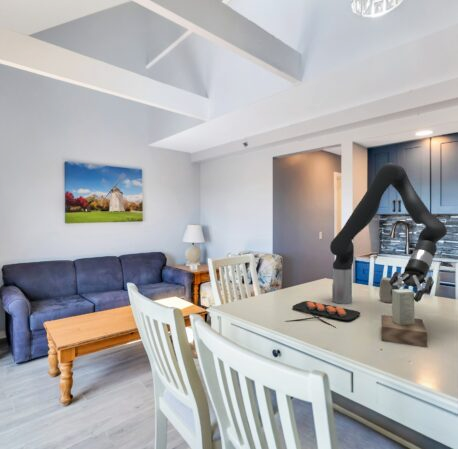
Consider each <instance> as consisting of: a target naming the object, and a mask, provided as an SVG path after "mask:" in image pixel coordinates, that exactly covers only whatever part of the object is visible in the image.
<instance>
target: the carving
mask: <svg viewBox="0 0 458 449" xmlns="http://www.w3.org/2000/svg"><path fill="white" fill-rule="evenodd" d="M391 278H392V277H382V278H381V279H380V283H379V294H378V295H379V299H380V300H381V301H382V302H384V303H389V304H392V295H391V293H390V291H391V289H392V286H391V285H390V283H389V281H390V280H391Z"/></svg>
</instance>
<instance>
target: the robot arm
mask: <svg viewBox="0 0 458 449" xmlns="http://www.w3.org/2000/svg"><path fill="white" fill-rule="evenodd" d="M390 186H392V187H393V188H394V189H395V190H396V191H397V193H398V194H399V196H400V197H401V200H402V204H403V205H404V208H405V210H406V212H407V214H408V215H409V216H410V218H411V220H412V221H413V222H414V223H415V224H417V225H418V224H422V225H424V226H425V227H424V228H423V229H422V230H421V231H420V233H419V235H418V238H417V243H416V246H415V248H414V250H413V252H412V253H411V255H410V256H409V260H408V262H407V263H406V265H405V266H404V271H403V272H402V273H399V272H398V271H395V272H393V274H392V276H391V277H390V278H391V280H390V281H389V283H390V285H391V286H392V289H391V291H390V293H391V295H392V290H396V289H400V288H404V287H405V286H406V287H412V288H416V287H417V289H418V290H416V293H415V294H414V302H415V303H418V302H420V301H421V300H422V298H423V295H425V294H427V295H430V294H431V292H432V289H433V286H434V279H433V277H432V276H428V273H429V271H430V269H431V267H432V264H433V259H434V257H435V254H436V252H437V249H438V248H437V243H438V242H439V241H440V240H441V239H443V238H444V237H446V235H447V234H448V233H447V232H448V230H447V227H446V225H445V223H444V222H442V221H441V220H440V219H439V218H438V217H437V216H435V215H434V214H432V212H430V209H429V208H428V207H427V206H426V204H425V203H424V202H423V200H422V198H421V197H420V196H419V194H418V192H416V190H415V188H414V187H413V185H412V183H411V181H410V179H409V175H408V174H407V172H406V170H405V168H404V167H403V166H402V165H399V164H396V163H394V162H387V163H384V164H383V165H381V167H380V168H379V169H378V171H377V172H376V174H375V176H374V179H373V180H372V182H371V184H370V185H369V187H368V189H367V191H365V194H364V195H363V197H362V198H361V199H360V200H359V203H358V204H357V205H356V206H355V208H354V210H353V211H352V213H351V215H350V216H349V217H348V219H347V220H346V222H345V224H344V226H343V227H342V229H340V231H339V232H338V233H337V235H336V236H335V237H334V238H333V239H332V241H331V242H330V246H329V249H330V252H331V253H332V255H334V256H336V257H335V259H334V261H333V262H332V286H331V287H332V299H331V300H332V302H333V303H337V304H345V305H346V304H352V303H353V267H352V266H353V264H354V252H355V251H354V250H355V249H354V248H355V247H354V243H353V240H354V238H356V236H357V235H358V234H359V233H360V232H362V231H363V230H364V229H365V228H366V227H367V226H368V225H369V224H370V223H371V221H372V220H373V218H375V216H376V214H377V213H378V211H379V209H380V205H381V200H382V197H383V195H384V194H385V192H386V191H387V189H388V188H389V187H390ZM427 276H428V277H427ZM424 283H426V284H425V286H424V288H423V286H422V284H424Z"/></svg>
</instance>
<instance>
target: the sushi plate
mask: <svg viewBox="0 0 458 449" xmlns="http://www.w3.org/2000/svg"><path fill="white" fill-rule="evenodd" d="M292 308H293V309H295V310H298V311H303V312H306V313H307V314H309V315H311V316H312V317H305V318H300V319H299V318H297V319H291V320H285V321H284V322H285V323H286V322H287V323H289V322H291V323H292V322H301V321H306V320H312V319H313V320H314V319H318V320H320V322H323V323H324V324H326V325H328V326H330V325H331V326H330V327H332V326H333V328H335V329H337V328H336V326H335V325H333V324H331V323H330V322H328V321H327V320H326V321H325V320H324V319H321V318H326V317H327V318H332V319H337V320H342V321H352V320H354V319H355V318H358V317H359V316H360V315H361V312H360V311H358V310H355V309H350V308H345V307H341V306H335V305H329V304H325V303H321V302H314V301H309V300H303V301H301V302H298V303H295V304H294V305H292ZM315 314H316V315H320V316H316V315H315Z"/></svg>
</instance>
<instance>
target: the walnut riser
mask: <svg viewBox="0 0 458 449" xmlns="http://www.w3.org/2000/svg"><path fill="white" fill-rule="evenodd" d="M380 317H381V320H380V322H381V323H380V324H381V326H380V327H381V341H386V342H392V343H398V344H399V343H400V344H405V345H413V346H420V347H428V331H427V328H426V325H425V323H424V321H423V318H422V319H421V318H415V317H414V320H415V321H414V322H415V324H405V325H398V324H396V323H395V322H394V321H392V315H388V314H387V315H386V314H381V316H380Z"/></svg>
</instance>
